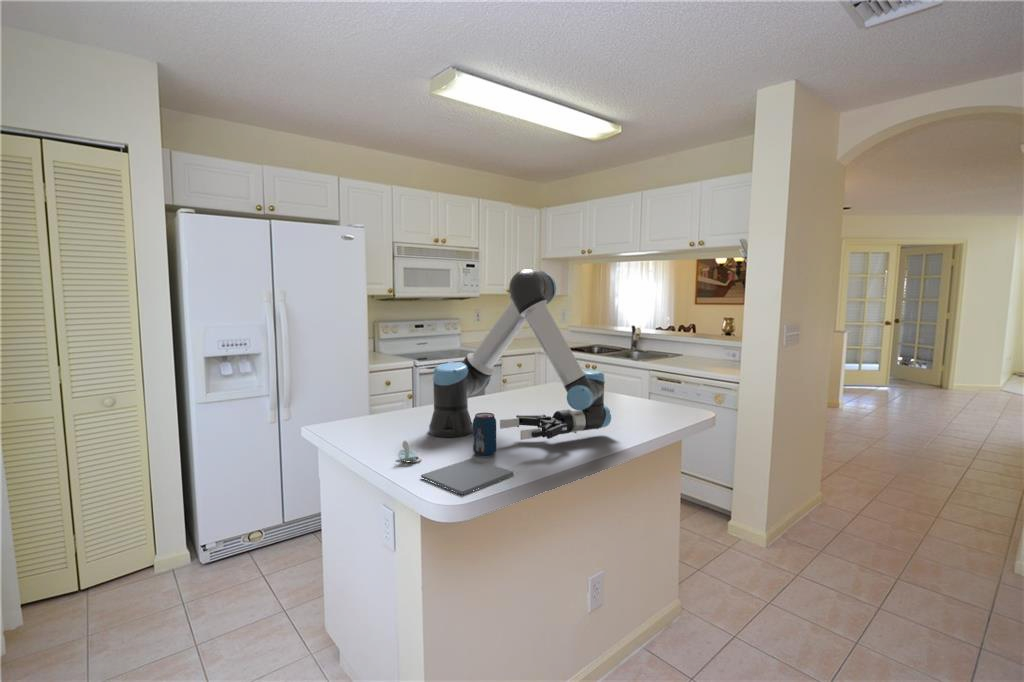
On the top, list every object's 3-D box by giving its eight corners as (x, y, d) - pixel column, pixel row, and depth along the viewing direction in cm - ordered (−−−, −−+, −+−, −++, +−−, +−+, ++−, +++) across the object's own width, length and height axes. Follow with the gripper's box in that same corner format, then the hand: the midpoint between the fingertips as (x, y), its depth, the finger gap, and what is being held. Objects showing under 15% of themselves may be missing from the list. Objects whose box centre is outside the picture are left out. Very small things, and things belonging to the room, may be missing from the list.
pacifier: (416, 455, 146) (396, 458, 143) (416, 435, 146) (396, 437, 143) (424, 463, 140) (404, 466, 137) (425, 441, 140) (404, 444, 137)
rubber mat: (421, 478, 128) (421, 474, 127) (472, 461, 141) (472, 457, 141) (462, 495, 117) (462, 491, 117) (513, 475, 130) (513, 471, 130)
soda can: (494, 449, 151) (494, 411, 150) (497, 457, 144) (497, 417, 143) (472, 451, 150) (471, 412, 149) (474, 458, 143) (474, 418, 142)
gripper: (591, 442, 150) (530, 453, 140) (547, 423, 172) (492, 431, 162) (591, 418, 149) (530, 427, 139) (547, 402, 171) (492, 409, 161)
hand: (510, 429), depth 150 cm, fingers open, 13 cm apart
